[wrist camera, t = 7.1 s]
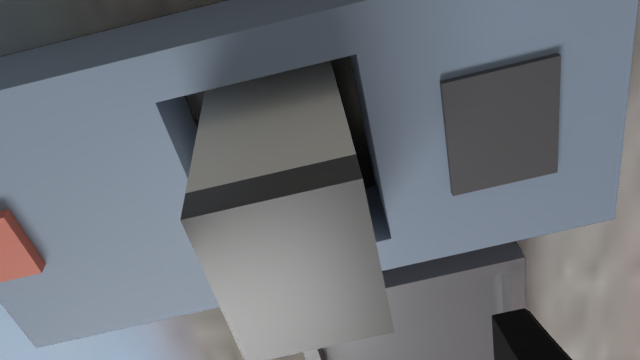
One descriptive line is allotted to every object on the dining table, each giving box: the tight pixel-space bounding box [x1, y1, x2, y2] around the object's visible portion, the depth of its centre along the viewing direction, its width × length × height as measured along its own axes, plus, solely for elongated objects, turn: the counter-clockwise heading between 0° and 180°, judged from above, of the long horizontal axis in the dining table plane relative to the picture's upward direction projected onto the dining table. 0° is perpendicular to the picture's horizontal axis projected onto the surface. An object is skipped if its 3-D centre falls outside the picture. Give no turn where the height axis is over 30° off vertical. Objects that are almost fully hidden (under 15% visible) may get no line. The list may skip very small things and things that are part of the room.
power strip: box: [0, 0, 638, 348], centre depth 17 cm, size 20×9×3 cm, turn 102°
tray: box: [303, 241, 526, 360], centre depth 25 cm, size 9×10×2 cm
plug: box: [180, 61, 394, 360], centre depth 16 cm, size 4×5×7 cm
